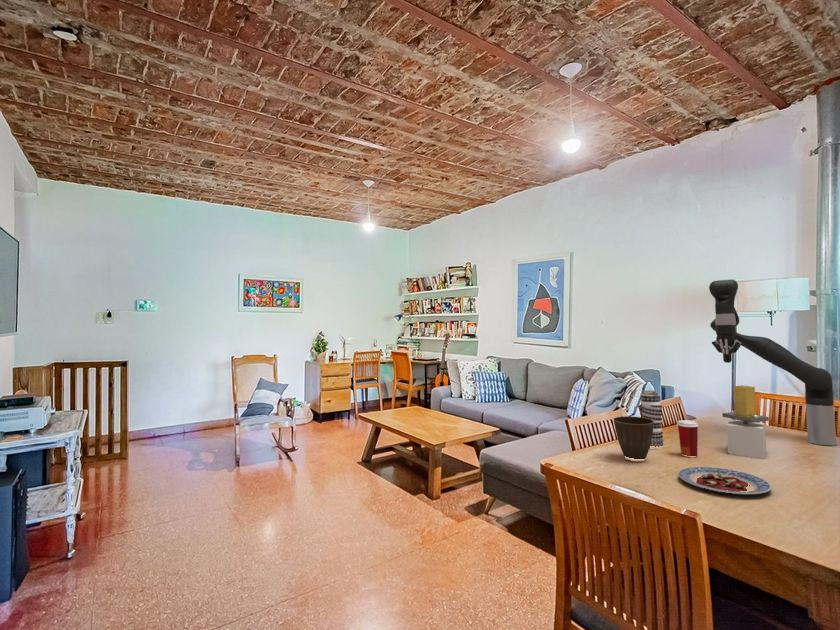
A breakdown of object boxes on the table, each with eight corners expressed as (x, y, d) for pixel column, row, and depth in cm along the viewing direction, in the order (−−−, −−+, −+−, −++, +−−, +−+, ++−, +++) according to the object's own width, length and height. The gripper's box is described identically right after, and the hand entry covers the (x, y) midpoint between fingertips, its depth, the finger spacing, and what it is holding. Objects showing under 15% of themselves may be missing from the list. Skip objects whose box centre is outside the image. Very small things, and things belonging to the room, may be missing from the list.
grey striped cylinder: (665, 445, 194) (662, 390, 195) (663, 450, 187) (661, 392, 188) (642, 443, 199) (639, 389, 200) (640, 448, 192) (637, 391, 193)
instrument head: (722, 416, 185) (721, 385, 185) (739, 414, 188) (738, 383, 188) (751, 422, 174) (750, 389, 174) (768, 420, 177) (767, 387, 177)
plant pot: (663, 464, 168) (661, 423, 169) (625, 465, 168) (623, 424, 169) (644, 453, 183) (642, 416, 184) (609, 454, 183) (607, 416, 184)
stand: (731, 447, 189) (729, 416, 189) (766, 451, 181) (764, 419, 181) (727, 453, 180) (726, 421, 180) (764, 458, 172) (762, 424, 172)
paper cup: (698, 454, 180) (696, 420, 181) (701, 459, 173) (699, 424, 174) (677, 452, 184) (675, 419, 184) (679, 457, 177) (677, 423, 177)
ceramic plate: (778, 506, 128) (778, 496, 128) (677, 491, 141) (677, 482, 141) (765, 479, 150) (765, 471, 150) (679, 469, 163) (678, 461, 163)
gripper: (705, 324, 199) (707, 362, 198) (734, 323, 186) (736, 363, 186) (717, 324, 201) (719, 361, 201) (746, 323, 189) (748, 363, 188)
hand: (727, 362), depth 193 cm, fingers closed
